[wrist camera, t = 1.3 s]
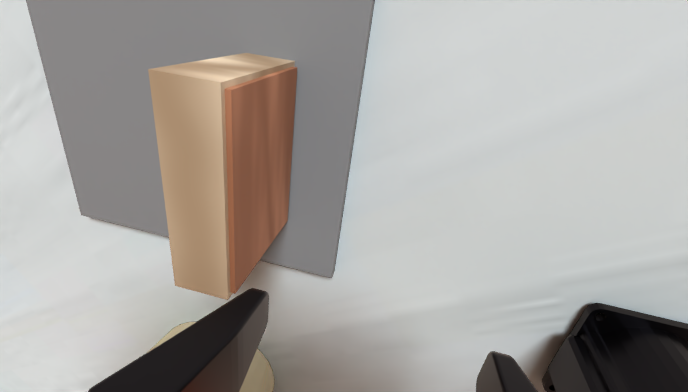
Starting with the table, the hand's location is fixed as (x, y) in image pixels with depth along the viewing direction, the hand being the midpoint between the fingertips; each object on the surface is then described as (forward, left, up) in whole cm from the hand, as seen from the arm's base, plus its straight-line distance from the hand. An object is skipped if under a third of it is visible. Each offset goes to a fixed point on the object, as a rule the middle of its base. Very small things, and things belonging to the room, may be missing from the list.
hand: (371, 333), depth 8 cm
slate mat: (+10, 0, -10) cm, 14 cm away
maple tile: (+6, 0, -9) cm, 11 cm away
